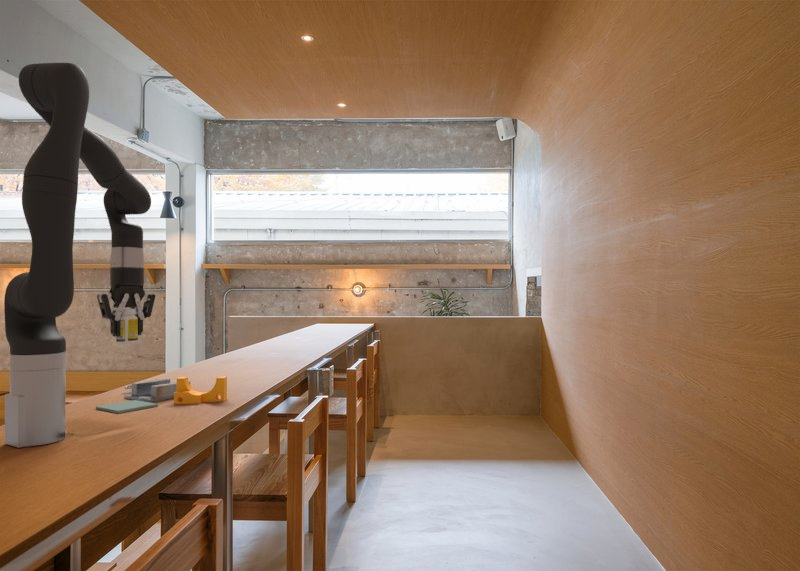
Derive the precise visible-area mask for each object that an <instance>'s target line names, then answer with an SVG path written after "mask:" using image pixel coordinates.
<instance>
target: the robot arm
mask: <svg viewBox="0 0 800 571" xmlns="http://www.w3.org/2000/svg"><path fill="white" fill-rule="evenodd" d="M18 74H19V75H18V86H19V89H20V93H21V94H22V96H23V97H24V99H25V100H26V102H27V103H28V104H29V106H30V107H31V108H32V109H33V110H34V111H35V112H36V113H37V114H38V115H39V116H40V117H41V119H43V120H44V121H45V122H46V123H47V125H48V126H50V127H49V129H48V131H47V134H46V135H45V137H44V138H43V140H42V141H41V142H40V144H39V145H38V146H37V148H36V150H34V151H33V154H32V155H31V156H30V158H29V159H28V161H27V164H26V165H25V168H24V170H23V181H22V192H21V206H22V210H23V214H24V218H25V221H26V224H27V227H28V230H29V234H30V237H31V256H30V257H31V258H30V265H29V270H28V271H27V272H23V273H20V274H17V275H15V276H14V277H13V278H12V279H11V280H10V281H9V282H8V284H7V286H6V288H5V291H4V292H5V294H4V305H3V307H4V310H3V311H4V330H5V331H4V332H5V337H6V340H7V343H8V346H9V393H8V392H7V393H5V395H4V444H6V445H9V446H11V447H15V448H25V447H35V446H43V445H47V444H53V443H57V442H60V441H62V440H64V439H65V438H66V429H67V428H66V427H67V426H66V400H67V399H66V388H67V387H66V385H67V384H66V381H67V380H66V378H67V377H66V376H67V375H66V374H67V371H66V369H67V367H66V366H67V365H66V363H67V361H66V360H67V353H66V351H67V340H66V338H65V337H64V336H63V335H62V334H61V333H60V331H59V330H58V327H57V320H56V318H57V317H60V316H62V315H63V314H65V313H66V312H67V311H68V310H69V308H70V307H71V305H72V303H73V300H74V296H75V280H74V278H75V277H74V255H73V247H74V236H75V221H76V208H77V207H76V206H77V200H78V189H79V168H80V167H79V166H80V160H81V161H82V163H83V165H84V167H86V169H87V171H88V172H89V174H91V176H92V178H93V179H94V180H95V181H96V183H97V184H98V186H100V187H101V188H104V189H106V191H105V193H104V194H103V207H104V210H105V212H106V216H107V219H108V224H109V227H110V230H111V249H110V256H109V258H110V260H109V269H110V270H109V275H110V276H109V279H110V280H109V284H110V289H109V291H108V292H107V293H99V294H97V295H96V298H97V303H98V305H99V310H100V314H101V316H102V318H103V319H106V320H109V322H110V331H109V332H110V334H111V335H112V337H115V338H116V337H118V336H120V321H119V319H120V316H121V313H122V312H123V311H124V309H128V308H129V309H136V314H135V316H136V317H137V318H138V336H141V335H142V333H143V331H144V321H145V319H146V318H147V319H148V318H150V317H151V316H152V313H153V309H154V303H155V299H156V295H155V294H154V293H147V292H145V290H144V284H145V254H144V229H143V228H142V227H141V226H140V225H138V224H134V223H129V221H128V219H127V217H126V215H127V216H130V215H131V216H132V215H143V214H146V213H147V212H149V210H150V208H151V205H152V197H151V195H150V193H149V191H148V189H147V188H146V187H145V185H144V184H142V182H141V181H140V180H138V178H136V177H135V176H134V175H133V174H132V173H131V172H130V171H128V170H127V169H126V168H125V165H124V164H123V163H122V161H121V160H120V158H119V156H118V154H117V153H116V152H115V150H114V149H113V148H112V146H111V145H110V144H108V142H107V141H105V140H104V139H103V138H102V137H101V136H99V135H98V134H96V133H95V132H93V131H92V130H91V129H89V128H88V127H87V126H85V124H86V119H87V113H88V108H89V102H90V84H89V80H88V77H87V76H86V73H85V71H84V70H83V69H82V67H80V66H79V65H78V64H75V63H72V62H71V63H70V62H42V63H41V62H39V63H31V64H27V65H25V66H23V67H22V68H21V70H20V72H19V73H18ZM111 300H112V302H113V304H112V305H110V301H111ZM142 300H143V305H142V303H141V301H142Z"/></svg>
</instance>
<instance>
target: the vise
mask: <svg viewBox="0 0 800 571" xmlns="http://www.w3.org/2000/svg"><path fill="white" fill-rule="evenodd" d="M189 384H190V385H191V381H189ZM123 388H124V390H127V391H128V390H131V394H125V395H124V398H123V399H127V400H130V401H132V400H138V401H144V402H150V403H156V402H161V401H166V400H170V399H171V400H172V399H174V392H176V391H177V381H175V382H171V378H160V379H153V380H145V381H139V382H132V383H131V385H126V386H124V387H123Z"/></svg>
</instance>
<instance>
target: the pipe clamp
mask: <svg viewBox="0 0 800 571" xmlns="http://www.w3.org/2000/svg"><path fill="white" fill-rule="evenodd" d="M227 377H228V376H218V377H216V380H215V384H214V386H213V387H212V388H211V389H210V390H209V391H205V392H201V391H198V390H196V389H194V388H193V387H192V386H191V383H190V384H189V382H190V381H189V377H188V376H179V377H177V378H176V382H177V391H176V392H174V398H173V404H174V405H181V404H182V405H187V404H188V405H189V404H192V405H193V404H195V405H196V404H201V403H207V402H208V403H211V402H214V403H215V402H225V401H226V400H228V378H227Z"/></svg>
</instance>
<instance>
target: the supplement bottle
mask: <svg viewBox="0 0 800 571" xmlns="http://www.w3.org/2000/svg"><path fill="white" fill-rule="evenodd" d="M135 314H136V309H130V308H124V311H123V312H122V313H121V316H120V319H119V321H120V336H118V337H115V338H116V339H115V340H116V344H119V345H120V344H121V345H123V344H124V345H125V344H126V345H127V344H136V343H138V341H139V335H138V318H137V317H136V316H135Z"/></svg>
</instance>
